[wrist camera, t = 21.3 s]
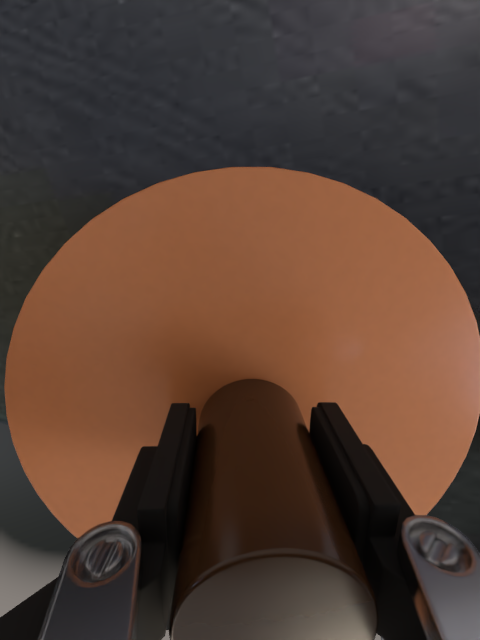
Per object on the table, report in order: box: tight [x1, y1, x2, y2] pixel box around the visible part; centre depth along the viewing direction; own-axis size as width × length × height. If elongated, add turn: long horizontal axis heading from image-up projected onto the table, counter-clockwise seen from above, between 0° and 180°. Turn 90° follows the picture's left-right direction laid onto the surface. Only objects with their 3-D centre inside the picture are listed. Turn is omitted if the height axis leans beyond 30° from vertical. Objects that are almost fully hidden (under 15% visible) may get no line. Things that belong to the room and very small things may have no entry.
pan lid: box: [5, 167, 480, 640], centre depth 9 cm, size 17×17×7 cm
